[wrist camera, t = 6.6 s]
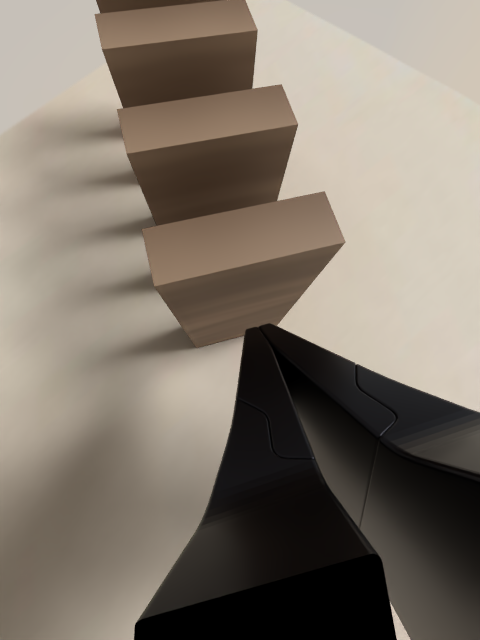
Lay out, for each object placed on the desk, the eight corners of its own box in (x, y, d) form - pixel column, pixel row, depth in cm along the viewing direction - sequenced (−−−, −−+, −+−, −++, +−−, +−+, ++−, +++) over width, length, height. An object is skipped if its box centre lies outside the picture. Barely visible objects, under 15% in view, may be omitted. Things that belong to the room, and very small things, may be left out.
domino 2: (257, 270, 18) (297, 124, 8) (182, 287, 17) (126, 154, 7) (250, 248, 18) (281, 84, 8) (177, 265, 17) (117, 109, 8)
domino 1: (275, 327, 17) (345, 242, 7) (196, 348, 16) (154, 286, 6) (267, 303, 17) (324, 191, 7) (190, 323, 16) (141, 228, 7)
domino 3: (240, 218, 18) (257, 30, 9) (168, 233, 18) (102, 49, 8) (234, 198, 19) (244, -2, 9) (163, 213, 18) (94, 14, 9)
